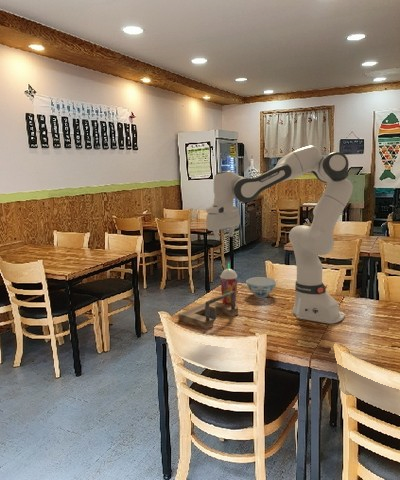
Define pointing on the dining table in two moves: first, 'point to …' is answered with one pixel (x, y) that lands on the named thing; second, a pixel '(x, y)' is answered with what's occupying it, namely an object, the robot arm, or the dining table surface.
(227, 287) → the smoothie
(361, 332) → the dining table surface
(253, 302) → the dining table surface
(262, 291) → the chinaware
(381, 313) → the dining table surface
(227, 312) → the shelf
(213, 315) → the dark grey block
